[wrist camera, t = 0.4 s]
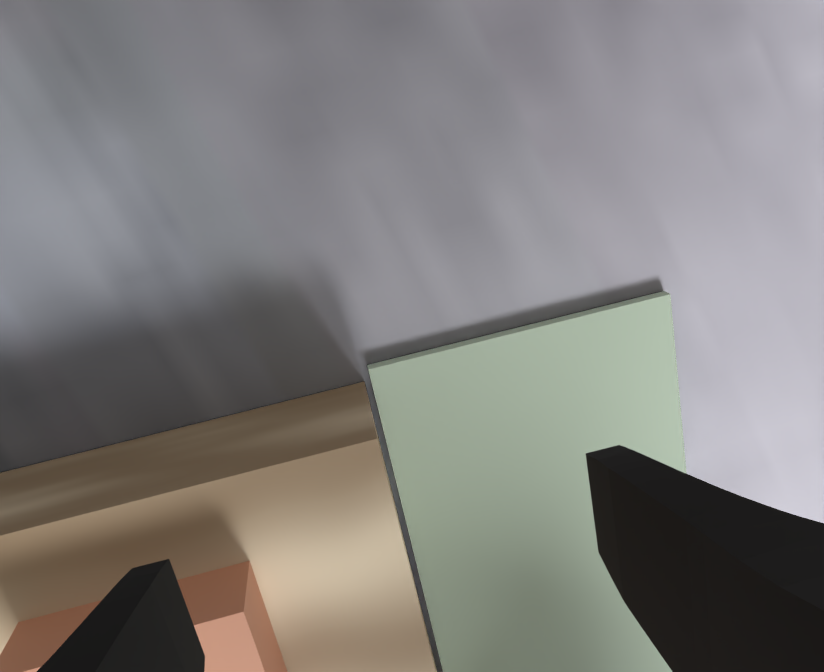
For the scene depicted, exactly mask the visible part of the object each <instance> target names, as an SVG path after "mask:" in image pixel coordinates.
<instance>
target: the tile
mask: <svg viewBox="0 0 824 672" xmlns="http://www.w3.org/2000/svg"><path fill="white" fill-rule="evenodd" d="M177 581H178V584H179V587H180V589H181V592H182V595H183V598H184V600H185V603H186V606H187V608H188V611H189V614H190V617H191V619H192V622H193V625H194V627H195V630H196V633H197V636H198V638H199V641H200V644H201V646H202V649H203V652H204V655H205V669H204V672H287V669H286V666H285V663H284V660H283V657H282V654H281V651H280V648H279V645H278V642H277V639H276V637H275V634H274V631H273V628H272V625H271V622H270V619H269V616H268V613H267V610H266V607H265V604H264V601H263V598H262V595H261V592H260V590H259V587H258V584H257V581H256V578H255V575H254V572H253V569H252V566H251V563H250V561H246V562H243V563H239V564H235V565H231V566H228V567H224V568H220V569H216V570H213V571H209V572H205V573H201V574H198V575H194V576H190V577H186V578H183V579H179V580H177ZM101 601H102V600H100V601H96V602H92V603H89V604H85V605H81V606H77V607H74V608H70V609H66V610H62V611H59V612H55V613H51V614H47V615H44V616H40V617H36V618H32V619H29V620H25V621H21V622H18V624H17V625H16V627H15V629H14V631H13V633H12V635H11V636H10V638H9V640H8V642H7V644H6V645H5V647H4V649H3V651H2V653H1V654H0V672H37V671H38V670H39V669H40V668H41V666H42V665H43V664H44V663H45V662H46V661H47V660H48V659H49V658H50V657H51V656H52V655H53V654H54V653H55V652H56V651H57V650H58V648H59V647H60V646H61V645H62V644H63V643H64V642H65V641H66V640H67V638H68V637H69V636H70V635H71V634H72V633H73V632H74V631H75V630H76V629H77V627H78V626H79V625H80V624H81V623H82V622H83V621H84V620H85V619H86V617H87V616H88V615H89V614H90V613H91V612H92V611H93V610H94V608H95V607H96V606H97V605H98V604H99V603H100V602H101Z"/></svg>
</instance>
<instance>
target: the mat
mask: <svg viewBox="0 0 824 672" xmlns="http://www.w3.org/2000/svg"><path fill="white" fill-rule="evenodd" d="M367 367H368V371H369V375H370V379H371V383H372V387H373V391H374V395H375V399H376V403H377V407H378V411H379V415H380V419H381V423H382V427H383V431H384V435H385V439H386V444H387V448H388V452H389V456H390V460H391V464H392V468H393V472H394V476H395V480H396V484H397V488H398V492H399V496H400V500H401V504H402V508H403V512H404V516H405V520H406V524H407V528H408V533H409V537H410V541H411V545H412V549H413V553H414V557H415V561H416V565H417V569H418V573H419V577H420V581H421V585H422V589H423V593H424V597H425V601H426V605H427V609H428V613H429V617H430V622H431V626H432V630H433V634H434V638H435V642H436V646H437V650H438V654H439V658H440V662H441V666H442V670H443V672H672V670H671V669H670V667H669V666H668V665H667V663H666V662H665V660H664V659H663V657H662V656H661V655H660V653H659V652H658V650H657V649H656V647H655V646H654V645H653V643H652V642H651V640H650V639H649V637H648V636H647V635H646V633H645V632H644V630H643V629H642V627H641V626H640V624H639V623H638V621H637V620H636V619H635V617H634V616H633V614H632V613H631V611H630V610H629V608H628V607H627V605H626V604H625V602H624V601H623V599H622V597H621V595H620V593H619V591H618V589H617V588H616V586H615V584H614V582H613V580H612V578H611V576H610V574H609V572H608V570H607V568H606V566H605V564H604V562H603V560H602V558H601V556H600V554H599V552H598V545H597V538H596V530H595V522H594V515H593V507H592V499H591V491H590V484H589V476H588V468H587V461H586V453H589V452H593V451H597V450H601V449H605V448H609V447H613V446H617V445H621V446H624V447H626V448H629V449H631V450H634V451H636V452H638V453H641V454H643V455H645V456H648V457H650V458H652V459H654V460H657V461H659V462H661V463H663V464H665V465H668V466H670V467H672V468H674V469H677V470H679V471H681V472H683V473H686V464H685V453H684V442H683V431H682V420H681V408H680V397H679V386H678V375H677V364H676V353H675V342H674V331H673V319H672V308H671V297H670V294H669V293H667V292H665V291H662V292H658V293H654V294H650V295H646V296H642V297H638V298H634V299H630V300H626V301H622V302H618V303H614V304H610V305H606V306H602V307H598V308H594V309H590V310H586V311H582V312H578V313H574V314H570V315H566V316H562V317H558V318H554V319H550V320H546V321H542V322H538V323H534V324H530V325H526V326H522V327H518V328H514V329H510V330H506V331H502V332H498V333H494V334H490V335H486V336H482V337H478V338H474V339H470V340H466V341H462V342H458V343H454V344H450V345H446V346H442V347H438V348H434V349H430V350H426V351H422V352H418V353H413V354H409V355H405V356H401V357H397V358H393V359H389V360H385V361H381V362H377V363H373V364H369V365H367Z"/></svg>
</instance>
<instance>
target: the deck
mask: <svg viewBox="0 0 824 672" xmlns="http://www.w3.org/2000/svg"><path fill="white" fill-rule="evenodd" d="M166 559H169V560H170V562H171V565H172V568H173V570H174V573H175V576H176V579H177V580H179V579H183V578H186V577H190V576H194V575H198V574H201V573H205V572H209V571H213V570H216V569H220V568H224V567H228V566H231V565H235V564H239V563H243V562H246V561H250V563H251V566H252V569H253V572H254V575H255V578H256V581H257V584H258V587H259V590H260V592H261V595H262V598H263V601H264V604H265V607H266V610H267V613H268V616H269V619H270V622H271V625H272V628H273V631H274V634H275V637H276V639H277V642H278V645H279V648H280V651H281V654H282V657H283V660H284V663H285V666H286V669H287V672H437V669H436V665H435V661H434V657H433V653H432V649H431V645H430V641H429V637H428V633H427V629H426V625H425V621H424V617H423V613H422V609H421V605H420V601H419V597H418V593H417V589H416V585H415V581H414V577H413V573H412V569H411V565H410V561H409V557H408V553H407V549H406V545H405V541H404V537H403V533H402V529H401V525H400V521H399V517H398V513H397V509H396V505H395V501H394V497H393V493H392V489H391V485H390V481H389V477H388V473H387V470H386V466H385V462H384V458H383V454H382V450H381V446H380V442H379V438H378V434H377V430H376V426H375V422H374V418H373V414H372V410H371V406H370V402H369V398H368V394H367V390H366V386H365V382H360V383H356V384H352V385H348V386H344V387H340V388H336V389H332V390H328V391H324V392H320V393H316V394H312V395H308V396H304V397H300V398H296V399H293V400H289V401H285V402H281V403H277V404H273V405H269V406H265V407H261V408H257V409H253V410H249V411H245V412H241V413H237V414H233V415H229V416H225V417H221V418H217V419H213V420H209V421H205V422H201V423H197V424H193V425H189V426H185V427H181V428H177V429H173V430H169V431H165V432H161V433H157V434H153V435H149V436H145V437H141V438H137V439H133V440H129V441H125V442H121V443H117V444H113V445H109V446H105V447H101V448H97V449H93V450H89V451H85V452H81V453H77V454H73V455H69V456H65V457H61V458H57V459H53V460H49V461H45V462H41V463H37V464H33V465H29V466H26V467H22V468H18V469H14V470H10V471H6V472H2V473H0V654H1V653H2V651H3V649H4V647H5V645H6V644H7V642H8V640H9V638H10V636H11V635H12V633H13V631H14V629H15V627H16V625H17V624H18V622H21V621H25V620H29V619H32V618H36V617H40V616H44V615H47V614H51V613H55V612H59V611H62V610H66V609H70V608H74V607H77V606H81V605H85V604H89V603H92V602H96V601H100V600H102V599H103V598H104V597H105V596H106V595H107V594H108V593H109V592H110V591H111V589H112V588H113V587H114V586H115V585H116V584H117V583H118V582H119V581H120V580H121V579H122V578H123V577H124V576H125V575H126V574H127V573H128V572H129V571H130V570H131V569H132V568H134V567H138V566H142V565H146V564H150V563H154V562H158V561H162V560H166Z"/></svg>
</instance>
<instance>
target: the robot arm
mask: <svg viewBox="0 0 824 672" xmlns="http://www.w3.org/2000/svg"><path fill="white" fill-rule="evenodd" d="M586 461H587V468H588V476H589V484H590V491H591V499H592V507H593V515H594V522H595V530H596V538H597V545H598V552H599V554H600V556H601V558H602V560H603V562H604V564H605V566H606V568H607V570H608V572H609V574H610V576H611V578H612V580H613V582H614V584H615V586H616V588H617V589H618V591H619V593H620V595H621V597H622V599H623V601H624V602H625V604H626V605H627V607H628V608H629V610H630V611H631V613H632V614H633V616H634V617H635V619H636V620H637V621H638V623H639V624H640V626H641V627H642V629H643V630H644V632H645V633H646V635H647V636H648V637H649V639H650V640H651V642H652V643H653V645H654V646H655V647H656V649H657V650H658V652H659V653H660V655H661V656H662V657H663V659H664V660H665V662H666V663H667V665H668V666H669V667H670V669H671V670H672V672H824V523H820V522H817V521H813V520H810V519H806V518H802V517H799V516H796V515H793V514H790V513H787V512H783V511H780V510H777V509H775V508H772V507H769V506H766V505H763V504H761V503H758V502H755V501H752V500H750V499H747V498H744V497H741V496H739V495H736V494H734V493H731V492H729V491H726V490H724V489H721V488H719V487H716V486H714V485H711V484H709V483H707V482H704V481H702V480H700V479H697V478H695V477H693V476H690V475H688V474H686V473H683V472H681V471H679V470H677V469H674V468H672V467H670V466H668V465H665V464H663V463H661V462H659V461H657V460H654V459H652V458H650V457H648V456H645V455H643V454H641V453H638V452H636V451H634V450H631V449H629V448H626V447H624V446H621V445H617V446H613V447H609V448H605V449H601V450H597V451H593V452H589V453H586ZM204 669H205V655H204V652H203V649H202V646H201V644H200V641H199V638H198V636H197V633H196V630H195V627H194V625H193V622H192V619H191V617H190V614H189V611H188V608H187V606H186V603H185V600H184V598H183V595H182V592H181V589H180V587H179V584H178V581H177V579H176V576H175V573H174V570H173V568H172V565H171V562H170V560H169V559H166V560H162V561H158V562H154V563H150V564H146V565H142V566H138V567H134V568H132V569H131V570H130V571H129V572H128V573H127V574H126V575H125V576H124V577H123V578H122V579H121V580H120V581H119V582H118V583H117V584H116V585H115V586H114V587H113V588H112V589H111V591H110V592H109V593H108V594H107V595H106V596H105V597H104V598H103V599H102V601H101V602H100V603H99V604H98V605H97V606H96V607H95V608H94V610H93V611H92V612H91V613H90V614H89V615H88V616H87V617H86V619H85V620H84V621H83V622H82V623H81V624H80V625H79V626H78V627H77V629H76V630H75V631H74V632H73V633H72V634H71V635H70V636H69V637H68V638H67V640H66V641H65V642H64V643H63V644H62V645H61V646H60V647H59V648H58V650H57V651H56V652H55V653H54V654H53V655H52V656H51V657H50V658H49V659H48V660H47V661H46V662H45V663H44V664H43V665H42V666H41V668H40V669H39V670H38V671H37V672H204Z"/></svg>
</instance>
